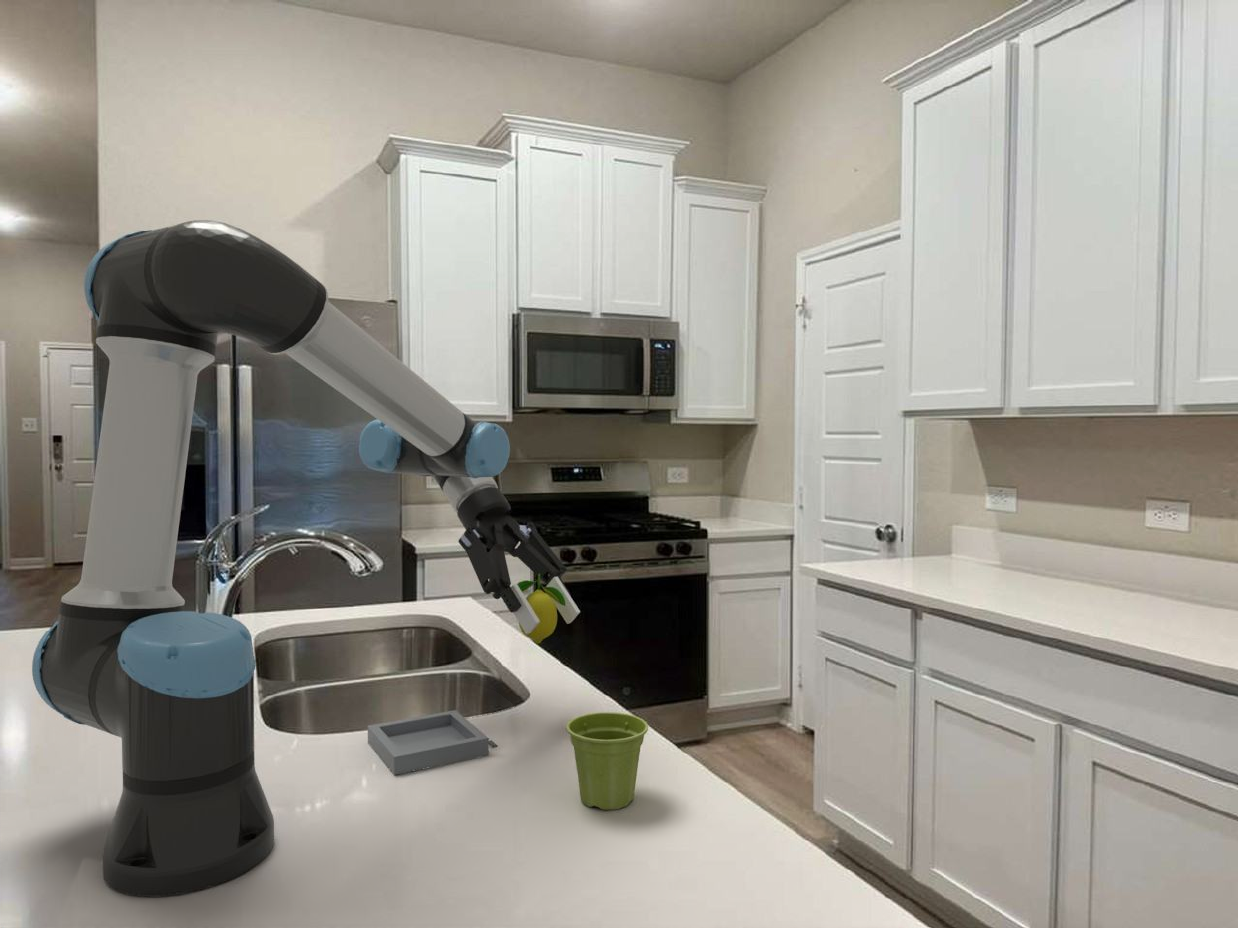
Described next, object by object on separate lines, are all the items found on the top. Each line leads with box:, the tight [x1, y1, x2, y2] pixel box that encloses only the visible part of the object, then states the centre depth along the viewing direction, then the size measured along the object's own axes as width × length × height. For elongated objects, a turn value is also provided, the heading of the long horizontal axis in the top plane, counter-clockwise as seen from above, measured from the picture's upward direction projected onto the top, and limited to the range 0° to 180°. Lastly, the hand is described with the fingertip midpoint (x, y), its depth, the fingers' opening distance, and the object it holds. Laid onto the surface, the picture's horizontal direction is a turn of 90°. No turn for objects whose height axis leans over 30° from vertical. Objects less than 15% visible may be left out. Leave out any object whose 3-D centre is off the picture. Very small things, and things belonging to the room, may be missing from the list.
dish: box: [367, 709, 490, 776], centre depth 111 cm, size 12×12×2 cm
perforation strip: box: [482, 732, 498, 748], centre depth 116 cm, size 9×1×1 cm, turn 31°
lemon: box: [516, 574, 566, 644], centre depth 120 cm, size 7×6×10 cm
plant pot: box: [565, 711, 649, 811], centre depth 96 cm, size 9×9×9 cm
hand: (553, 622), depth 118 cm, fingers closed on lemon, 8 cm apart
